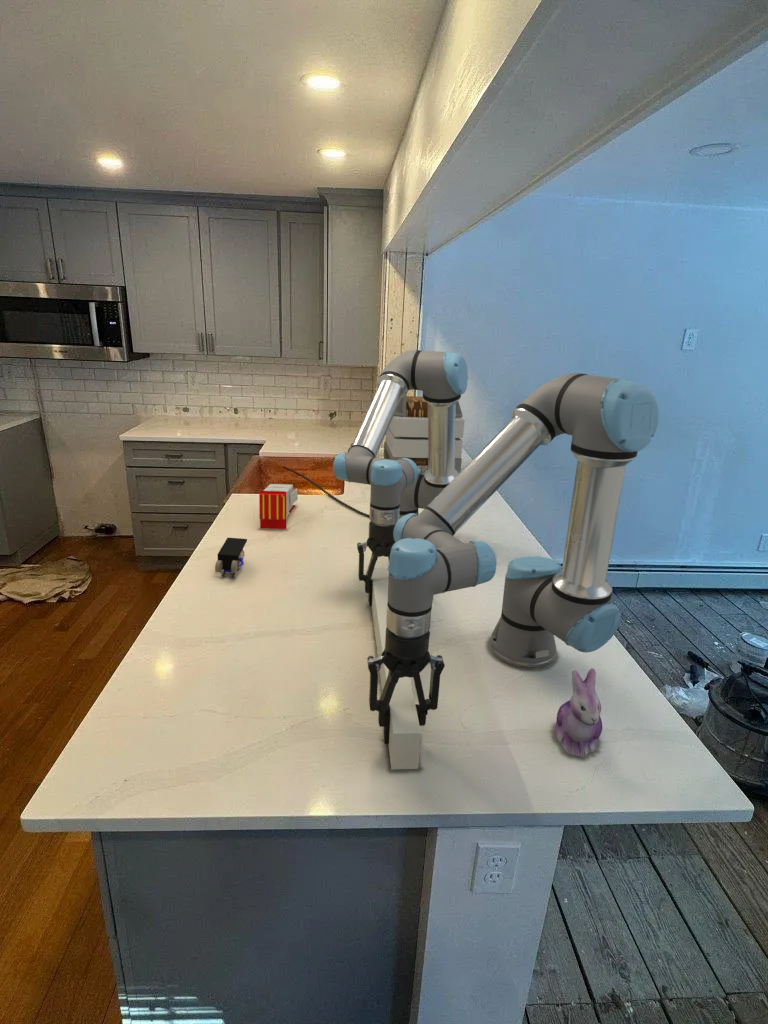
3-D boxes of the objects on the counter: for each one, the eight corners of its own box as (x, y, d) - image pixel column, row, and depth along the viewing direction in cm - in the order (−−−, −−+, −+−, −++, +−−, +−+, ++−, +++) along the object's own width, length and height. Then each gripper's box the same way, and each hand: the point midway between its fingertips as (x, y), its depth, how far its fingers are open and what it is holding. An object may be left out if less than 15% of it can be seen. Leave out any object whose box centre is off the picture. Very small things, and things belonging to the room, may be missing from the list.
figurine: (579, 767, 100) (594, 696, 95) (539, 730, 108) (551, 663, 103) (617, 750, 104) (633, 682, 99) (576, 716, 112) (588, 651, 107)
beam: (370, 593, 158) (371, 568, 155) (386, 593, 158) (388, 568, 155) (391, 769, 98) (393, 733, 95) (418, 769, 98) (421, 733, 95)
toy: (299, 479, 223) (289, 492, 194) (299, 512, 226) (289, 530, 197) (268, 478, 223) (253, 491, 193) (268, 512, 225) (254, 529, 196)
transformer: (382, 463, 289) (386, 382, 275) (445, 464, 293) (451, 384, 279) (390, 482, 257) (394, 392, 243) (460, 483, 261) (468, 394, 247)
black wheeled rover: (238, 584, 162) (249, 557, 175) (236, 562, 158) (247, 536, 172) (215, 584, 161) (227, 556, 175) (212, 561, 158) (225, 535, 171)
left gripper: (349, 526, 139) (347, 610, 147) (420, 527, 141) (415, 610, 149) (348, 516, 146) (346, 596, 154) (416, 517, 148) (411, 596, 156)
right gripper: (356, 640, 92) (352, 754, 100) (464, 639, 93) (452, 752, 101) (354, 616, 99) (351, 725, 107) (455, 616, 100) (444, 723, 108)
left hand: (380, 603), depth 151 cm, fingers closed on beam, 5 cm apart
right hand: (400, 738), depth 104 cm, fingers closed on beam, 5 cm apart
